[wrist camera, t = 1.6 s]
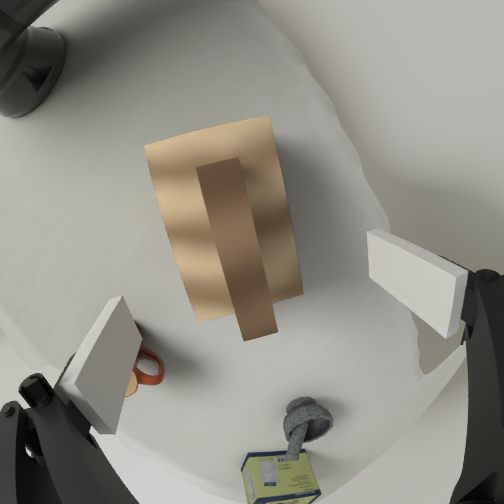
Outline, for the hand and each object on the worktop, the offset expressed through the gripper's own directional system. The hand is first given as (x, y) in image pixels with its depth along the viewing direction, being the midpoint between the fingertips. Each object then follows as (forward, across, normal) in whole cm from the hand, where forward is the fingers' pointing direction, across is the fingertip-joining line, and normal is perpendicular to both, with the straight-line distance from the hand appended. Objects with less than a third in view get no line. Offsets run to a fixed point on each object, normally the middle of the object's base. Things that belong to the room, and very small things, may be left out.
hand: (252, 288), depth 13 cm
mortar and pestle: (+24, +4, -42) cm, 48 cm away
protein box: (+24, -5, -64) cm, 68 cm away
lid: (+15, 0, 0) cm, 15 cm away
